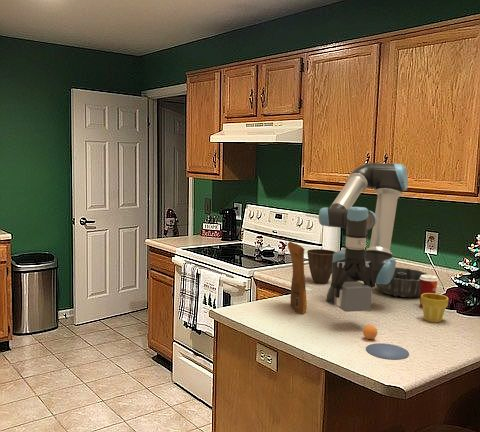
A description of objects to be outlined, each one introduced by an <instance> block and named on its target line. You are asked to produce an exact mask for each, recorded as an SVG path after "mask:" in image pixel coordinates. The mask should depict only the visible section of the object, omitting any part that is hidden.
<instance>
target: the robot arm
mask: <svg viewBox="0 0 480 432" xmlns="http://www.w3.org/2000/svg"><path fill="white" fill-rule="evenodd" d="M408 182H409V181H408V171H407V167H406V166H405V165H404V164H401V163H395V162H394V163H388V162H387V163H386V162H385V163H382V162H381V163H380V162H368V163H365V164H362V165H360V166H358V167H357V168H355V169H354V170H353V171H351V172H350V174H349V175H348V177H347V178H346V183H345V184H344V186H343V188H342V189H341V191H340V192H339V193H338V195H337V196H336V198H335V199H334V201H333V202H332V203H331V204H330V206H329V207H328V206H326V207H322V208H320V209H319V213H318V222H319V224H320V225H321V226H325V227H329V228H330V227H331V228H341V229H346V231H345V232H346V233H345V234H346V235H345V247H346V248H344V249H342V250H337V251H335V253H334V254H333V261H332V274H331V281H330V285H329V289H328V291H327V294H326V302H327V303H329V304H332V305H334V295H335V297H337V303H336V305H337V306H336V305H335V306H336V307H338V306H339V307H341V303H342V289H341V287H342V285H343V284H344V282H357V281H359V282H362V283H363V284H365V285H367V286H369V287H371V288H372V289H373V288H375V287H377V286H376V284H388V283H389V282H390V281H391V280H392V277H393V275H394V272H395V267H396V264H397V263H396V262H397V260H396V258H394V254H393V252H392V251H391V244H392V238H393V231H394V224H395V218H396V212H397V205H398V199H399V198H400V197H401V196H403V195H402V194H403V192H406V191H407V190H408ZM367 189H374V192H375V193H376V195H377V199H376V204H375V212H373V211H372V210H369V209H368V208H367V207H363V206H354V204H355V203H356V202H357V199H358V198H359V196H360V195H361V194H362V193H363V192H365V190H367ZM368 230H372V231H371V237H370V243H369V247H368V248H366V247H367V234H368ZM365 248H366V249H365ZM339 307H338V308H339Z"/></svg>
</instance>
